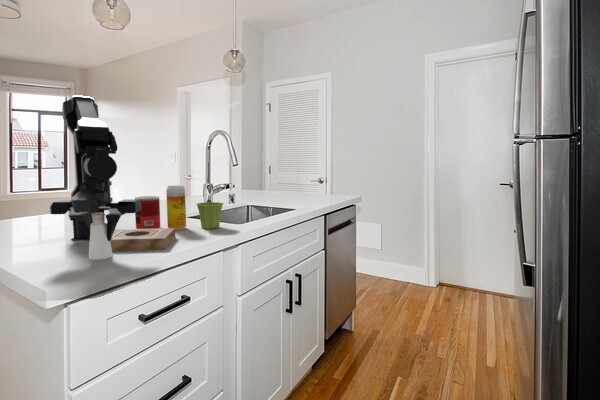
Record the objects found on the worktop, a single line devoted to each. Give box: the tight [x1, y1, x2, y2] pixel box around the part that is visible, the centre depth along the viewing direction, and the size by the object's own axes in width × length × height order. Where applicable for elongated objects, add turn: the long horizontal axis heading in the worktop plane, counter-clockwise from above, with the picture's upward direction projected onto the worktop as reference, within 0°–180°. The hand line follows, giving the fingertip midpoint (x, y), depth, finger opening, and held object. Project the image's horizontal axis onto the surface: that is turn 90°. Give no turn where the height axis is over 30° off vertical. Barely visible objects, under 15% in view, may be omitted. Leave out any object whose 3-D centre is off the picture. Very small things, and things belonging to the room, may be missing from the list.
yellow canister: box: [165, 185, 187, 231], centre depth 121 cm, size 6×6×15 cm
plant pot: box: [195, 201, 224, 230], centre depth 124 cm, size 9×9×9 cm
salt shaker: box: [88, 212, 114, 261], centre depth 86 cm, size 5×5×11 cm
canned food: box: [134, 195, 161, 229], centre depth 121 cm, size 8×8×11 cm
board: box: [110, 227, 176, 252], centre depth 100 cm, size 18×14×3 cm
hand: (99, 241), depth 86 cm, fingers closed on salt shaker, 4 cm apart
